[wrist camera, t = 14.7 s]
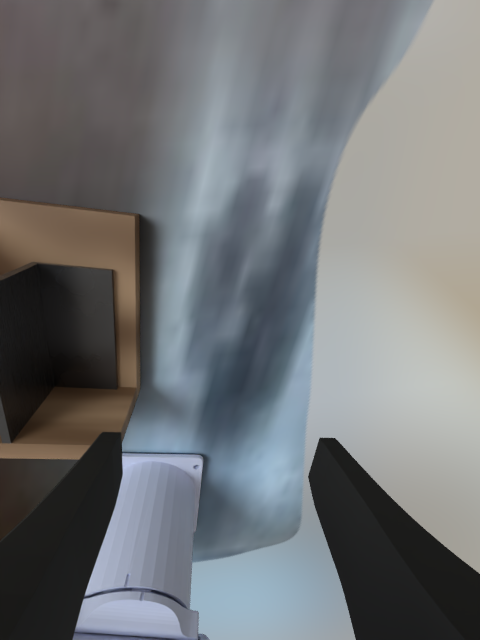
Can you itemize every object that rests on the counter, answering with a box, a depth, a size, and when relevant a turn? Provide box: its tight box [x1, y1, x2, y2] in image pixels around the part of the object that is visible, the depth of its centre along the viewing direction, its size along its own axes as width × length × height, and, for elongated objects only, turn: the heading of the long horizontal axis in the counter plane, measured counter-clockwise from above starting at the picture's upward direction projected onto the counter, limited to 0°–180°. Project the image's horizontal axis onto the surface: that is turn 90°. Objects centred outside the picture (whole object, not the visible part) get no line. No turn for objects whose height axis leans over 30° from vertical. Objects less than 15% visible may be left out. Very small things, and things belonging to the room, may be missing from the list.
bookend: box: [0, 262, 118, 444], centre depth 16 cm, size 8×4×5 cm, turn 173°
